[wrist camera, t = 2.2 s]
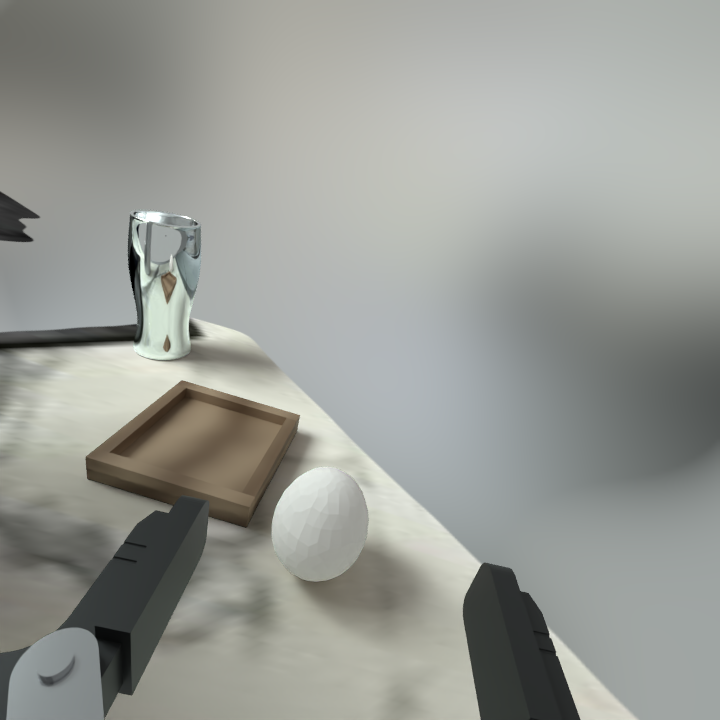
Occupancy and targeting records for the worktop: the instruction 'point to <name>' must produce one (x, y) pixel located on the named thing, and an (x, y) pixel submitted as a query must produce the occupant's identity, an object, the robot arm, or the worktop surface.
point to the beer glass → (163, 280)
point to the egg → (320, 524)
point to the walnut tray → (198, 451)
